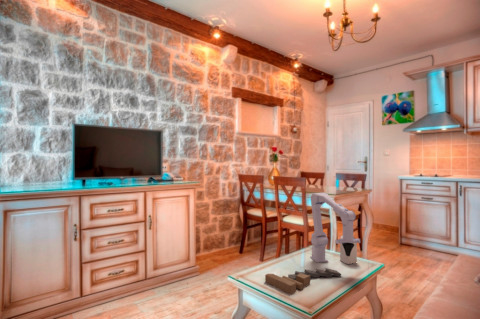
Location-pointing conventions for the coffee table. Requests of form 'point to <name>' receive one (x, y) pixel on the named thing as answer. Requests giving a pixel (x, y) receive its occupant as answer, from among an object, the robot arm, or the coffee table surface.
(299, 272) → the domino
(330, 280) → the coffee table surface
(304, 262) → the coffee table surface
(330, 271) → the domino
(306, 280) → the wooden block set
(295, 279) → the domino
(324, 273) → the domino
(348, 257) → the milk carton
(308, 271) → the domino
